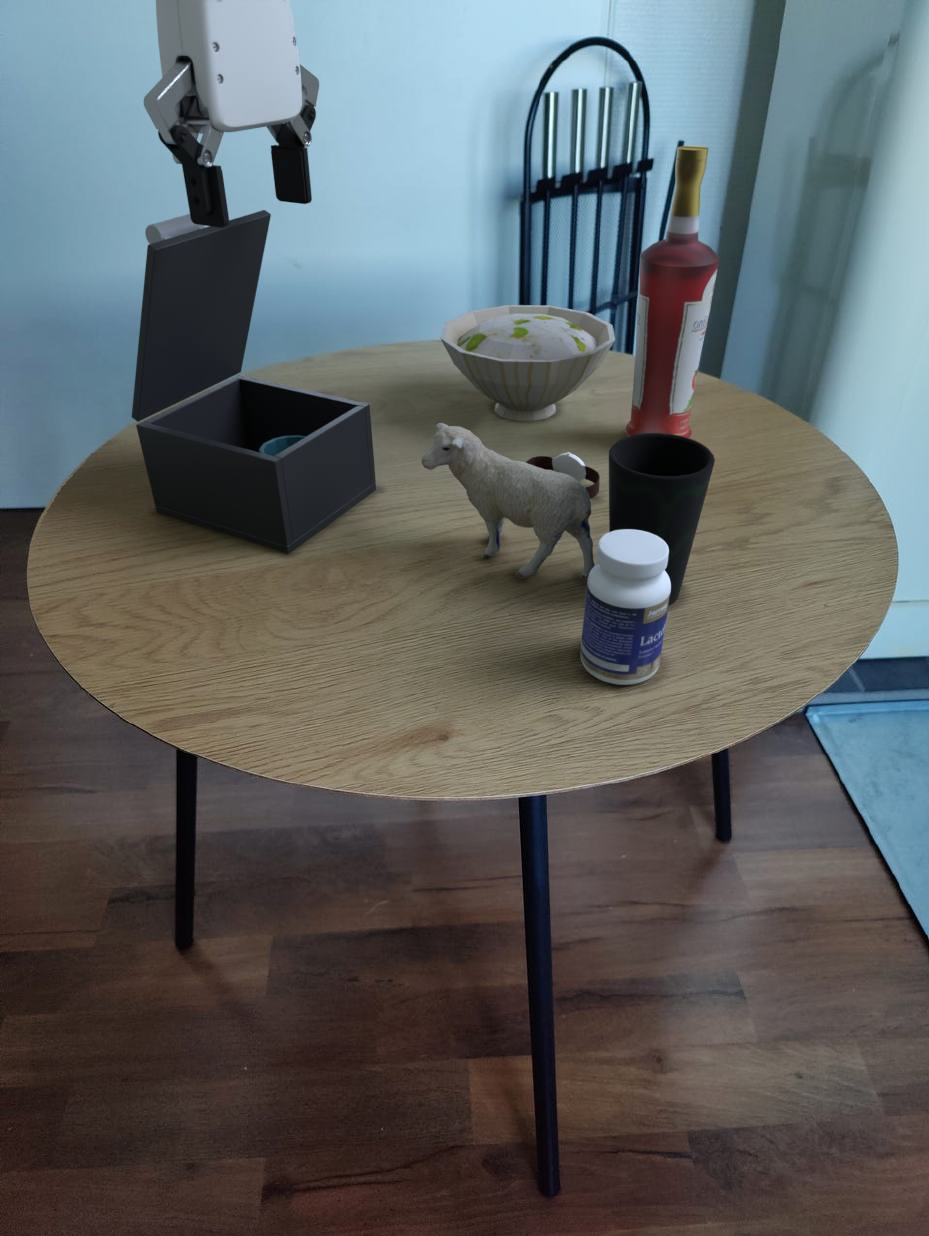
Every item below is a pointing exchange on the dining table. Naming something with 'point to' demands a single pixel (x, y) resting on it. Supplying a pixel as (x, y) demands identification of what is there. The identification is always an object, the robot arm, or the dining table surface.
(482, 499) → the figurine
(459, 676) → the dining table surface
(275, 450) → the creamer cup
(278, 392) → the dark gray hinged chest
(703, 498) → the cup
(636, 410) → the liquor
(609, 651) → the pill bottle
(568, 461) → the watch
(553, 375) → the bowl
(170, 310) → the chest lid
